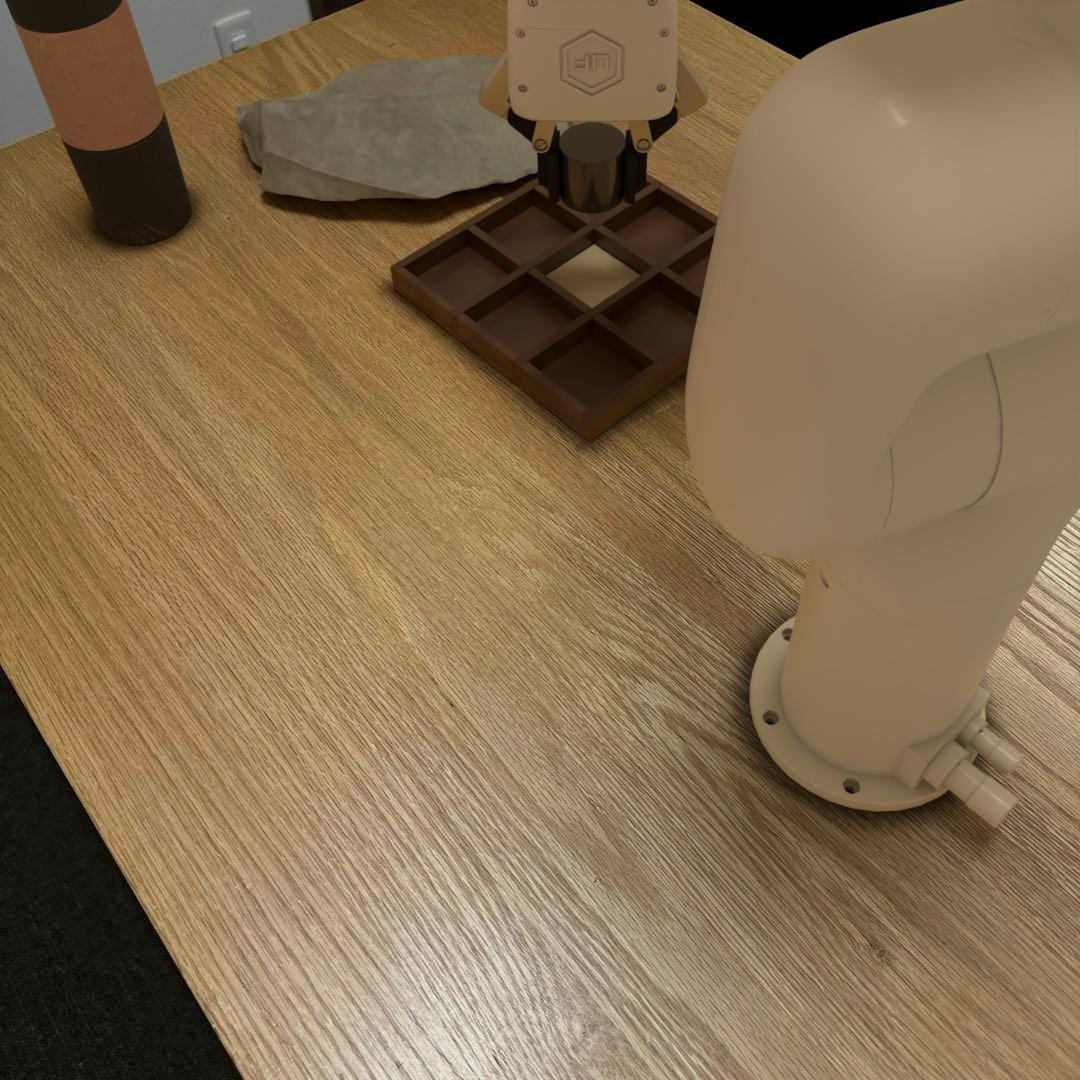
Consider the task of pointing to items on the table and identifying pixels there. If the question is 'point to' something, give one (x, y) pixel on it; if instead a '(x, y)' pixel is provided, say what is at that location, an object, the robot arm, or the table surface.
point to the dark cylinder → (592, 167)
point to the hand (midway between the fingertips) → (592, 188)
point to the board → (572, 296)
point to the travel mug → (107, 113)
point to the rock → (387, 134)
